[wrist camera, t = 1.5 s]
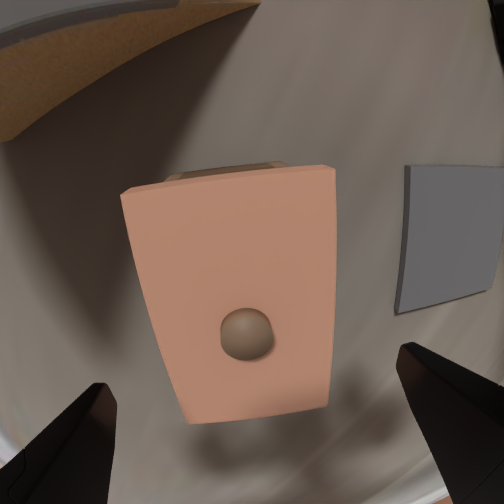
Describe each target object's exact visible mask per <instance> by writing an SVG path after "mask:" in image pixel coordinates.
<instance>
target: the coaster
mask: <svg viewBox="0 0 504 504" xmlns="http://www.w3.org/2000/svg"><path fill="white" fill-rule="evenodd" d="M503 230H504V167H493V166H468V165H405V195H404V218H403V234H402V247H401V258H400V268H399V276H398V285H397V292H396V300H395V306H394V309H395V310H396V311H397V312H398V313H402V312H406V311H410V310H414V309H418V308H422V307H426V306H430V305H434V304H438V303H442V302H445V301H449V300H453V299H456V298H460V297H463V296H467V295H470V294H474V293H477V292H481V291H484V290H487V289H490V288H492V285H493V281H494V276H495V272H496V268H497V263H498V258H499V253H500V247H501V242H502V236H503Z"/></svg>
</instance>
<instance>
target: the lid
mask: <svg viewBox="0 0 504 504" xmlns="http://www.w3.org/2000/svg"><path fill="white" fill-rule="evenodd" d="M120 197H121V202H122V207H123V212H124V217H125V222H126V226H127V231H128V236H129V240H130V244H131V249H132V253H133V257H134V261H135V265H136V269H137V273H138V277H139V281H140V284H141V288H142V292H143V295H144V299H145V302H146V306H147V309H148V313H149V316H150V319H151V323H152V326H153V329H154V332H155V335H156V339H157V342H158V345H159V348H160V351H161V354H162V357H163V360H164V363H165V366H166V368H167V371H168V374H169V377H170V380H171V382H172V385H173V388H174V390H175V393H176V396H177V398H178V401H179V404H180V406H181V409H182V411H183V414H184V416H185V419H186V421H187V424H199V423H214V422H226V421H236V420H245V419H253V418H261V417H268V416H275V415H281V414H288V413H293V412H299V411H304V410H310V409H315V408H320V407H325V406H328V397H329V387H330V376H331V364H332V351H333V336H334V318H335V295H336V249H337V225H336V179H335V169H333V168H331V167H328V166H326V165H310V166H296V167H284V168H273V169H262V170H253V171H243V172H234V173H226V174H218V175H210V176H203V177H195V178H188V179H181V180H175V181H168V182H162V183H156V184H150V185H144V186H138V187H132V188H130V189H128V190H127V191H125V192H124V193H122V194H121V195H120Z"/></svg>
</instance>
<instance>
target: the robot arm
mask: <svg viewBox="0 0 504 504" xmlns="http://www.w3.org/2000/svg"><path fill="white" fill-rule="evenodd" d="M489 1H490V5H491V9H492V12H493V16H494V21H495V25H496V30H497V34H498V39H499V45H500V50H501V56H502V61H503V64H504V0H489ZM396 370H397V373H398V375H399V378H400V381H401V383H402V386H403V389H404V392H405V395H406V397H407V400H408V403H409V406H410V408H411V410H412V413H413V415H414V417H415V419H416V421H417V423H418V425H419V427H420V429H421V431H422V434H423V436H424V438H425V440H426V442H427V444H428V446H429V449H430V451H431V453H432V455H433V457H434V460H435V462H436V464H437V466H438V469H439V471H440V473H441V475H442V478H443V480H444V482H445V485H446V487H447V490H448V492H449V494H450V497H451V499H452V502H453V504H504V387H503V386H501V385H498V384H496V383H494V382H492V381H490V380H488V379H486V378H484V377H482V376H480V375H478V374H476V373H474V372H472V371H470V370H468V369H466V368H464V367H462V366H460V365H458V364H456V363H454V362H452V361H450V360H448V359H446V358H444V357H443V356H441V355H439V354H437V353H435V352H433V351H431V350H429V349H427V348H425V347H423V346H421V345H419V344H417V343H415V342H409V343H406V344H403V345H401V347H400V349H399V354H398V358H397V362H396ZM116 416H117V402H116V400H115V398H114V396H113V394H112V392H111V390H110V388H109V386H108V385H107V384H106V383H93V384H92V385H91V386H90V387H89V388H88V389H86V390H85V391H84V392H83V393H82V394H81V395H80V396H79V397H78V398H77V399H76V400H75V401H74V402H73V403H71V404H70V405H69V406H68V407H67V408H66V409H65V410H64V411H63V412H62V413H61V414H60V415H59V416H58V417H56V418H55V419H54V420H53V421H52V422H51V423H50V424H49V425H48V426H47V427H46V428H45V429H44V430H43V431H42V432H40V433H39V434H38V435H37V436H36V437H35V438H34V439H33V440H32V441H31V442H30V443H29V444H28V445H27V446H26V447H25V449H22V450H21V451H20V452H19V453H18V454H17V455H16V456H15V457H14V458H13V459H12V460H10V461H9V462H8V463H7V464H6V465H5V466H3V467H2V468H1V469H0V504H107V501H108V492H109V484H110V477H111V470H112V463H113V456H114V449H115V433H116Z"/></svg>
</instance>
